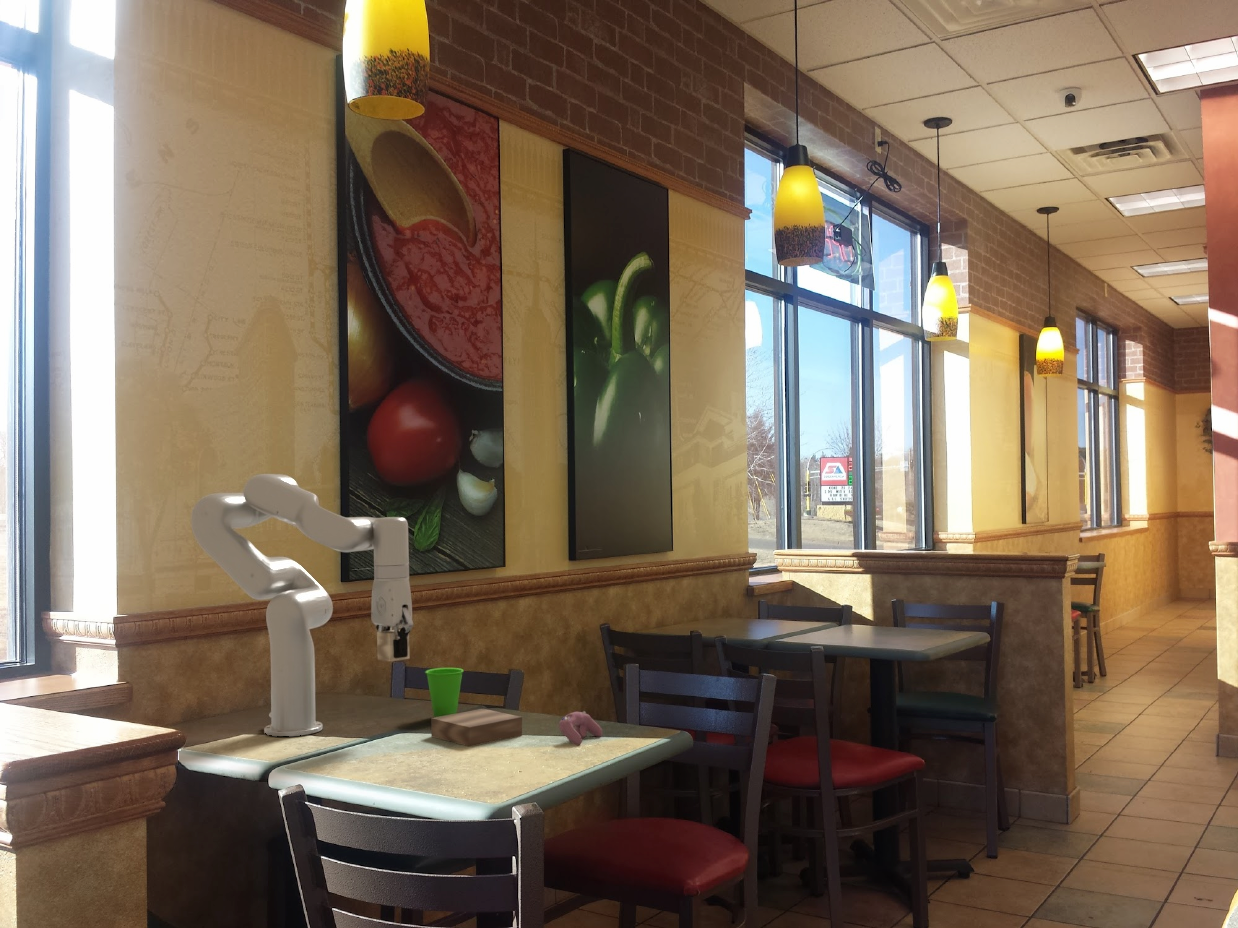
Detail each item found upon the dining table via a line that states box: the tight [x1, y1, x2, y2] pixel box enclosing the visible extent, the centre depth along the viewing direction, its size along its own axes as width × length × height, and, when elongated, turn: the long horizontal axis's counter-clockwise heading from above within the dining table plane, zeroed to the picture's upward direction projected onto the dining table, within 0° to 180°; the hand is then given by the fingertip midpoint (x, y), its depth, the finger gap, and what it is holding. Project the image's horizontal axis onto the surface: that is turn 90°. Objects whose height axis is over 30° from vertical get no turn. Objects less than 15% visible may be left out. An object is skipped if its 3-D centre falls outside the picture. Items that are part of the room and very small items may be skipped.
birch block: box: [376, 629, 411, 662], centre depth 243 cm, size 5×5×6 cm
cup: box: [424, 667, 464, 718], centre depth 261 cm, size 9×9×11 cm
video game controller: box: [558, 711, 603, 746], centre depth 236 cm, size 10×5×7 cm, turn 150°
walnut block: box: [430, 708, 523, 748], centre depth 240 cm, size 14×14×4 cm
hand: (393, 655), depth 242 cm, fingers closed on birch block, 4 cm apart
